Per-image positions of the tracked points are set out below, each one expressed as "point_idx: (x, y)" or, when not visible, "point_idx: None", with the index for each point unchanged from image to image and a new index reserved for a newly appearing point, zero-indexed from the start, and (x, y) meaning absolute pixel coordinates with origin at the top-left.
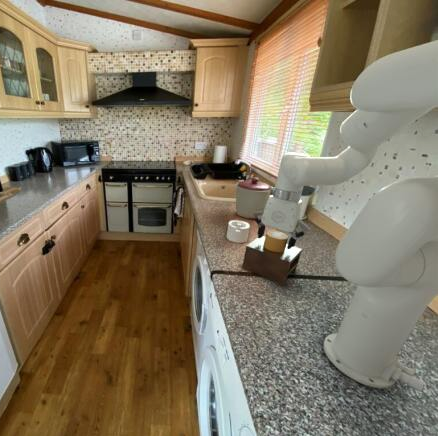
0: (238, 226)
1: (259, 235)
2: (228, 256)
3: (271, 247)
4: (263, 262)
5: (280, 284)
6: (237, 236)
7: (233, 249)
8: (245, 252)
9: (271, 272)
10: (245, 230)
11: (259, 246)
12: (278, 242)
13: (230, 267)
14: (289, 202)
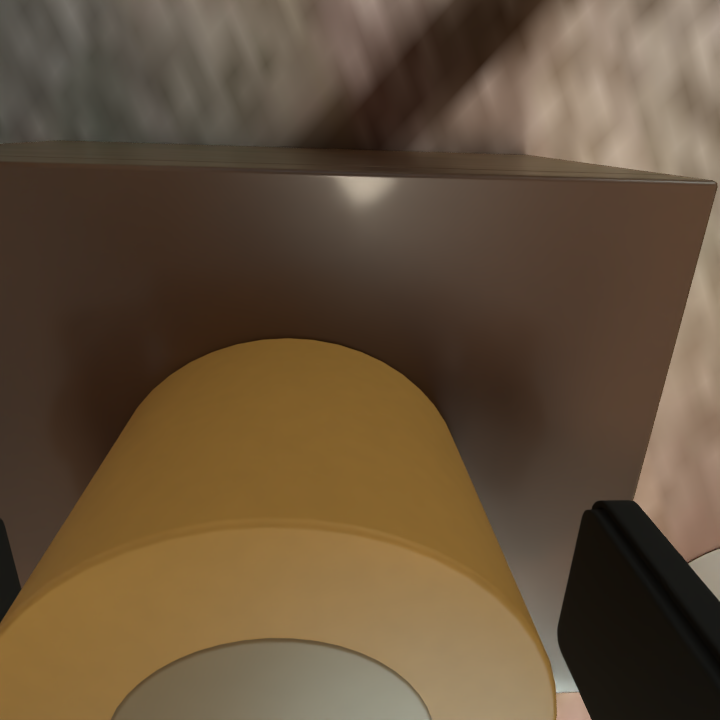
0: None
1: (643, 542)
2: (716, 258)
3: (272, 368)
4: (309, 156)
5: (85, 141)
6: None
7: (704, 422)
8: (625, 169)
9: (185, 149)
10: None
11: (495, 344)
12: (117, 488)
13: (635, 46)
14: None
